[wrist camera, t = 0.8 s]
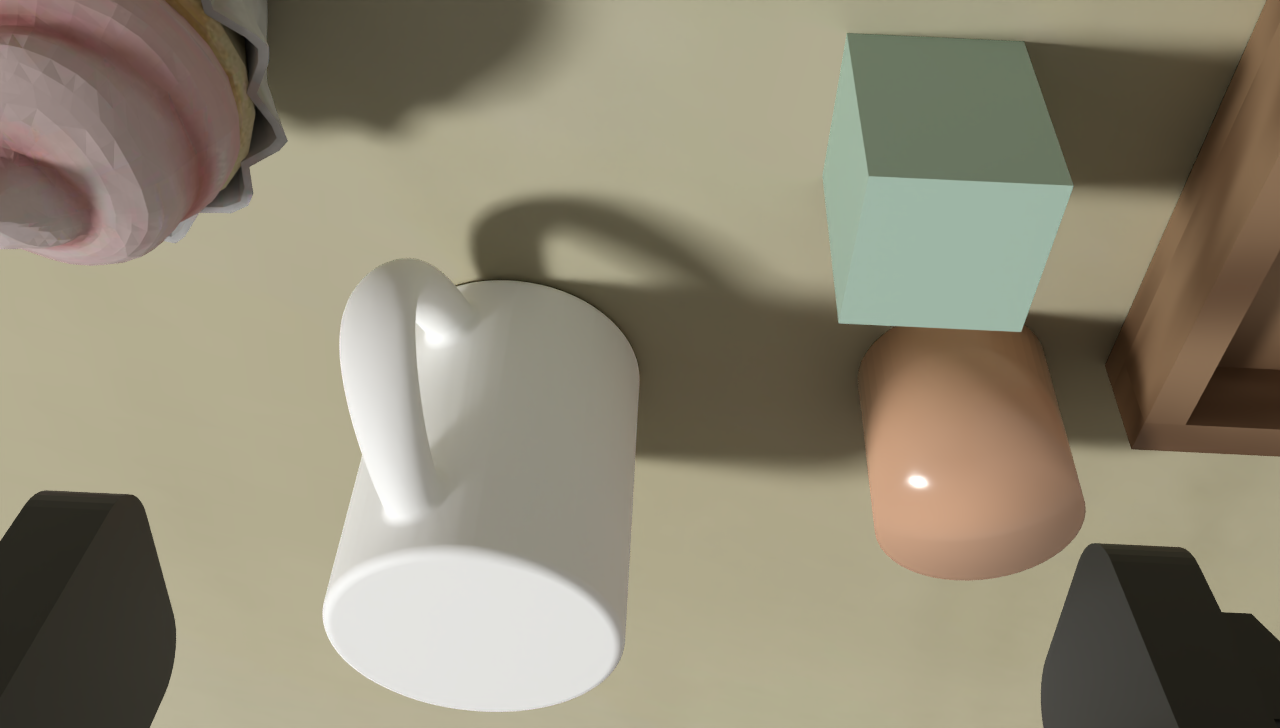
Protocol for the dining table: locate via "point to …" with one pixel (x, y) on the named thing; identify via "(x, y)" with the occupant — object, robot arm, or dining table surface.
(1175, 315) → the tray
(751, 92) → the dining table surface
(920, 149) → the sage block
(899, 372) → the peach capsule shape
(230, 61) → the cupcake
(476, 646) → the mug
